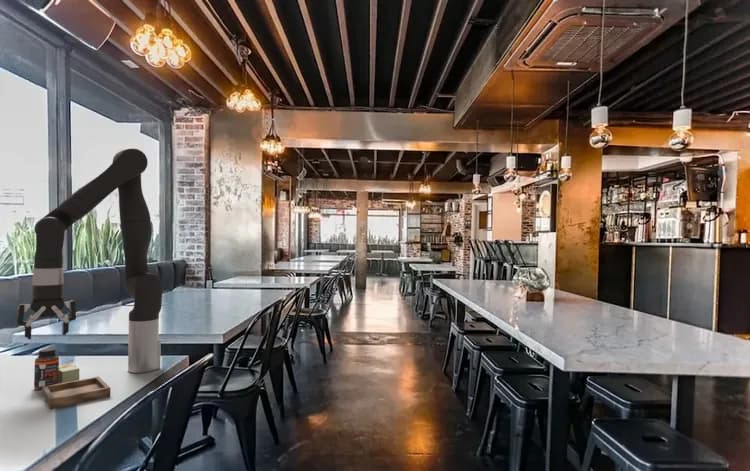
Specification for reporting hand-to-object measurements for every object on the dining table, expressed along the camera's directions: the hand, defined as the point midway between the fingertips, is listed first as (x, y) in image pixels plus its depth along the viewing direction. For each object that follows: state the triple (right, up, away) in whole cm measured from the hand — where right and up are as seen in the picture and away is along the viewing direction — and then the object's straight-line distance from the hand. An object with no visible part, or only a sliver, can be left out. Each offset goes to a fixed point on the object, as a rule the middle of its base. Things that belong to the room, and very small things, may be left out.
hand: (46, 336), depth 134 cm
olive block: (+4, -11, +4) cm, 12 cm away
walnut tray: (+14, -15, -7) cm, 22 cm away
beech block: (-1, -15, +9) cm, 18 cm away
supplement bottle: (0, -15, 0) cm, 15 cm away
